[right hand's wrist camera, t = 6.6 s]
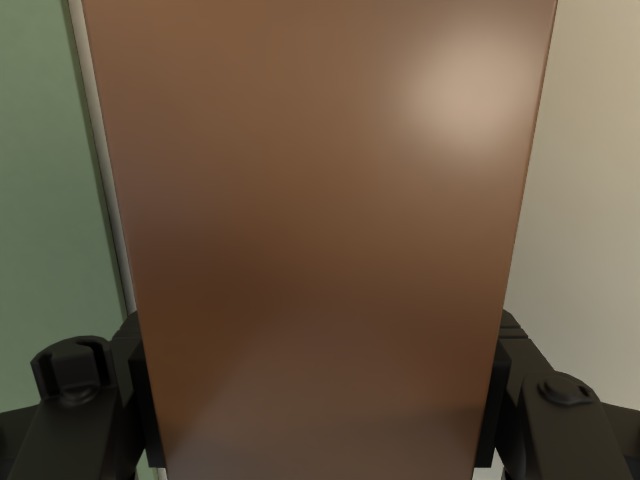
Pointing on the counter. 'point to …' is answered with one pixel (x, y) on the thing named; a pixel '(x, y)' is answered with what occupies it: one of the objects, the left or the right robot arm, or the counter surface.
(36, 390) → the mat
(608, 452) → the right robot arm
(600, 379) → the counter surface
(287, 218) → the walnut box
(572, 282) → the counter surface
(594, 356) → the counter surface
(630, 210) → the counter surface
